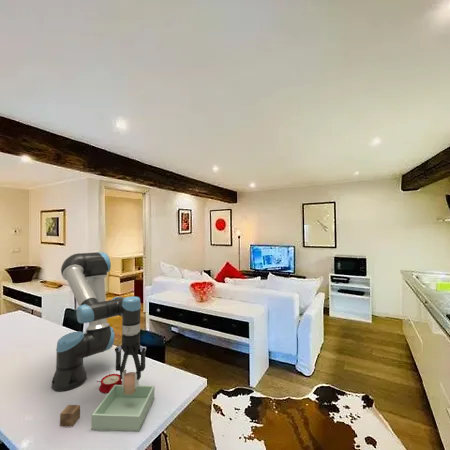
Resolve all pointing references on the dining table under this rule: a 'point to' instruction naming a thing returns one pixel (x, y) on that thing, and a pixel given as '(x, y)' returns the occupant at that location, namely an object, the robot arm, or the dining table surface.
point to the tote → (123, 409)
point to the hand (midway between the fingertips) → (130, 386)
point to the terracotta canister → (129, 383)
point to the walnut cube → (70, 415)
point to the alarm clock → (109, 382)
